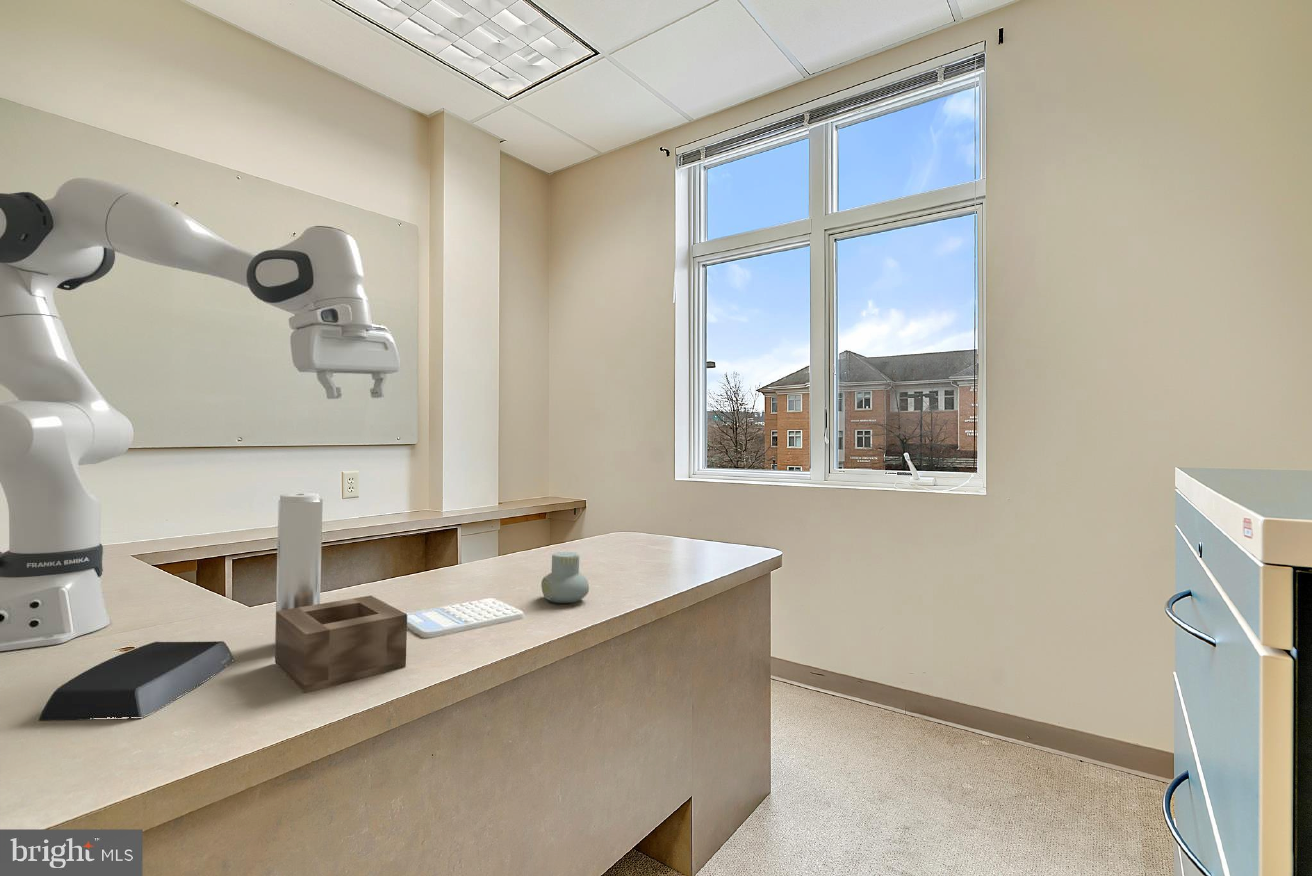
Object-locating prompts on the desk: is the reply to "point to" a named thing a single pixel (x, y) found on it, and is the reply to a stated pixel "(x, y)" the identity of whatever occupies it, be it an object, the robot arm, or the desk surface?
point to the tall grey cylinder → (298, 551)
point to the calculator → (461, 617)
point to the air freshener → (565, 579)
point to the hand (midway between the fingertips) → (357, 398)
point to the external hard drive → (137, 681)
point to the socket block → (340, 641)
